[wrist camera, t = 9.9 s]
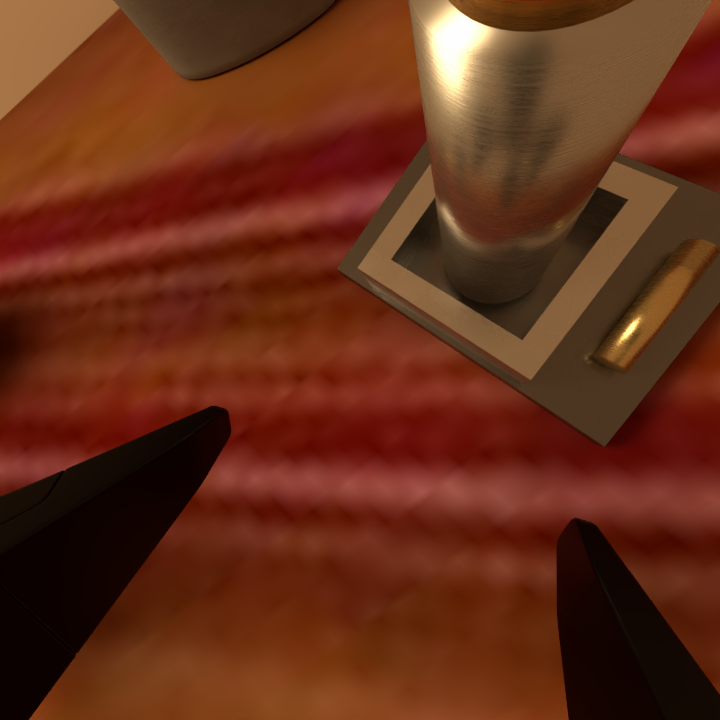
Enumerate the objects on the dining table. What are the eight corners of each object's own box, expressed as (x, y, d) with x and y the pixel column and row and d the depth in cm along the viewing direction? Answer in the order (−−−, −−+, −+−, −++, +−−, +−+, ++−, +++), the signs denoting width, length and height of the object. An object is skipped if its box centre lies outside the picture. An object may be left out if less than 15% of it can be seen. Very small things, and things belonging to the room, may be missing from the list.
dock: (765, 231, 15) (848, 183, 12) (596, 444, 16) (630, 454, 13) (460, 105, 20) (460, 47, 17) (342, 275, 21) (320, 250, 18)
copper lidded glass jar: (570, 267, 17) (977, -251, 3) (476, 322, 18) (517, 77, 4) (511, 191, 18) (645, -401, 5) (426, 246, 19) (341, -120, 6)
